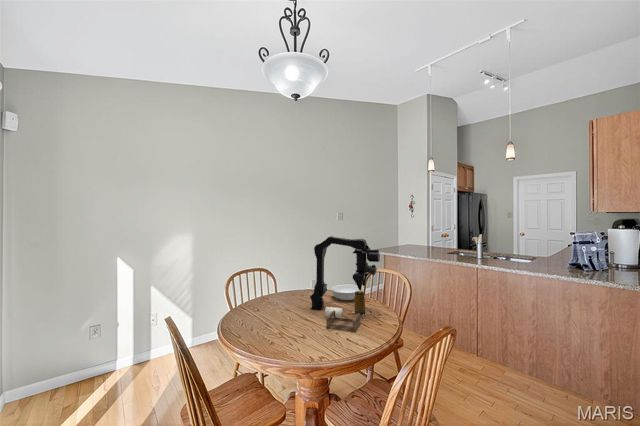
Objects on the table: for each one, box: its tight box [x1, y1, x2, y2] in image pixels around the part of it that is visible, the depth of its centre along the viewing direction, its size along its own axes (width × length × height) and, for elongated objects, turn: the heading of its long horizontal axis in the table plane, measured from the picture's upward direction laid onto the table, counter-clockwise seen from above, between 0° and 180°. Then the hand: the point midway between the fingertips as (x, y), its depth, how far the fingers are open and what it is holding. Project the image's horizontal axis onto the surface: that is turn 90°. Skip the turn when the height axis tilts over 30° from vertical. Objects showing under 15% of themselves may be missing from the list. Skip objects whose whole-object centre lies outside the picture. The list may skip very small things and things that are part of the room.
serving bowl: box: [331, 283, 364, 301], centre depth 202 cm, size 21×21×7 cm
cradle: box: [325, 311, 361, 333], centre depth 156 cm, size 15×11×6 cm
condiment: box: [351, 291, 370, 317], centre depth 174 cm, size 7×8×12 cm
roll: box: [324, 306, 344, 318], centre depth 170 cm, size 9×5×5 cm, turn 69°
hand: (362, 288), depth 173 cm, fingers open, 9 cm apart
